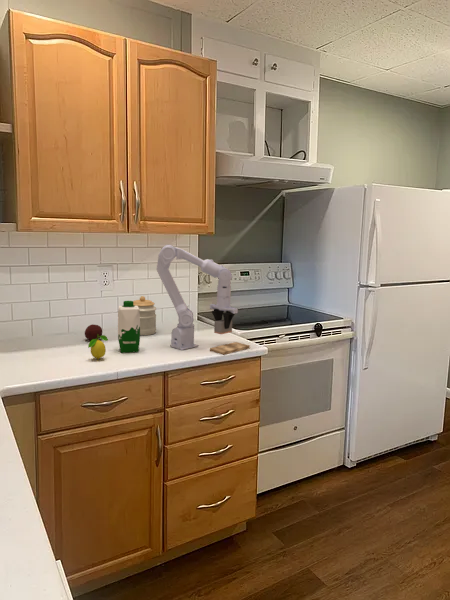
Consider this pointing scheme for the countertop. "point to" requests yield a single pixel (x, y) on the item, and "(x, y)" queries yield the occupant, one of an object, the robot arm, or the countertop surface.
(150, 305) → the jar
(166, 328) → the countertop surface
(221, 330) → the sanding block
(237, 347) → the board
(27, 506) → the countertop surface
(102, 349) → the lemon
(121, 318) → the milk carton
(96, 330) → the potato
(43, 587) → the countertop surface
